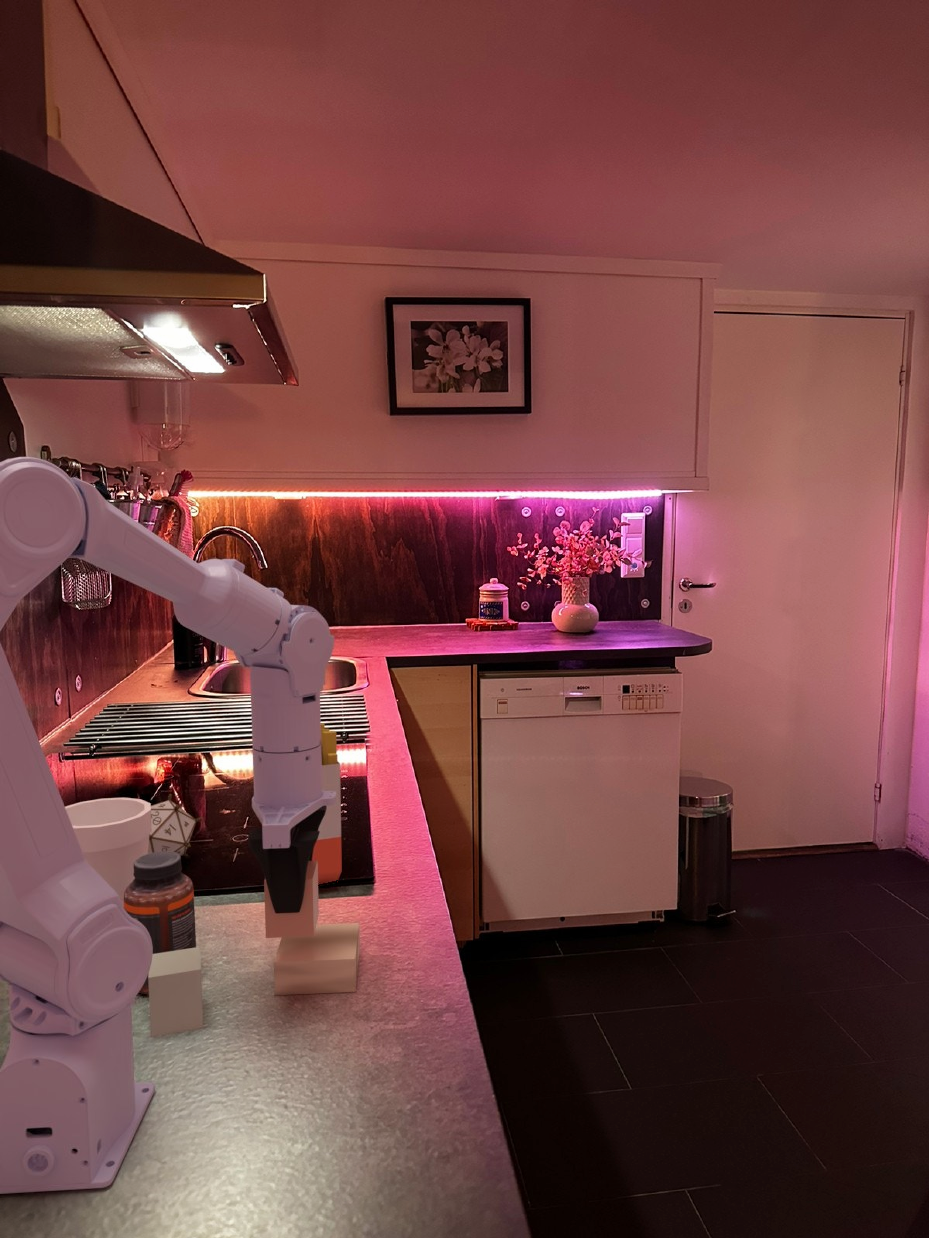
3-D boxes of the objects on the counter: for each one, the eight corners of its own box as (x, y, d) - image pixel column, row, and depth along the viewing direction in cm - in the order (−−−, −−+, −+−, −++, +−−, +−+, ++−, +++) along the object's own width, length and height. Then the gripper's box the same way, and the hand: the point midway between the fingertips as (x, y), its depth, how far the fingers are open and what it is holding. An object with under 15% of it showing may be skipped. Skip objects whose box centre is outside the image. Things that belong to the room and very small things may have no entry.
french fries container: (302, 898, 92) (299, 739, 90) (286, 863, 102) (282, 720, 100) (342, 891, 93) (340, 735, 92) (322, 858, 103) (320, 717, 102)
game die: (180, 892, 102) (213, 839, 98) (110, 882, 98) (141, 825, 94) (181, 837, 109) (211, 785, 106) (115, 825, 105) (145, 770, 101)
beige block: (203, 1027, 67) (201, 969, 66) (150, 1037, 66) (148, 977, 65) (201, 1002, 71) (199, 946, 70) (152, 1011, 69) (149, 954, 69)
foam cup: (165, 915, 88) (160, 795, 86) (144, 957, 78) (139, 824, 77) (70, 921, 86) (64, 800, 85) (38, 965, 77) (32, 830, 76)
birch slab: (355, 991, 72) (354, 958, 72) (274, 995, 72) (273, 962, 71) (359, 952, 79) (359, 922, 79) (286, 955, 79) (285, 925, 78)
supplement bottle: (205, 962, 77) (201, 845, 76) (186, 997, 71) (181, 870, 70) (141, 964, 77) (136, 846, 76) (116, 998, 71) (111, 872, 70)
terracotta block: (313, 936, 69) (312, 878, 69) (265, 938, 69) (264, 880, 69) (318, 914, 73) (317, 860, 73) (273, 916, 73) (271, 862, 73)
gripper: (326, 766, 63) (330, 937, 64) (341, 725, 77) (344, 864, 79) (232, 769, 62) (238, 941, 64) (265, 726, 77) (269, 867, 78)
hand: (291, 899), depth 71 cm, fingers closed on terracotta block, 4 cm apart
